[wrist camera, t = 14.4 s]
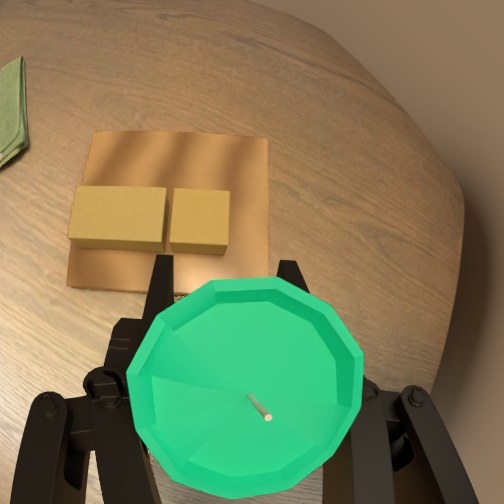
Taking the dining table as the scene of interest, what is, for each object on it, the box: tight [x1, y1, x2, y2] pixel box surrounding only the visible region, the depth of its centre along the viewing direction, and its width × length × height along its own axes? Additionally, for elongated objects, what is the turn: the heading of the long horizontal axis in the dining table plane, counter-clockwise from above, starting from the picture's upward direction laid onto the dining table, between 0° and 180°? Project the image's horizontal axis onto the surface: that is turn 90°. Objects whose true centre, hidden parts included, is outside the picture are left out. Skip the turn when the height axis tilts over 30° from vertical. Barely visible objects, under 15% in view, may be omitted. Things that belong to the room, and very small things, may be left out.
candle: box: [126, 277, 364, 499], centre depth 11 cm, size 6×6×12 cm
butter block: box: [68, 186, 169, 252], centre depth 21 cm, size 7×4×3 cm, turn 90°
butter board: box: [66, 131, 269, 295], centre depth 24 cm, size 16×14×2 cm
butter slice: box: [169, 188, 230, 255], centre depth 22 cm, size 4×4×3 cm
